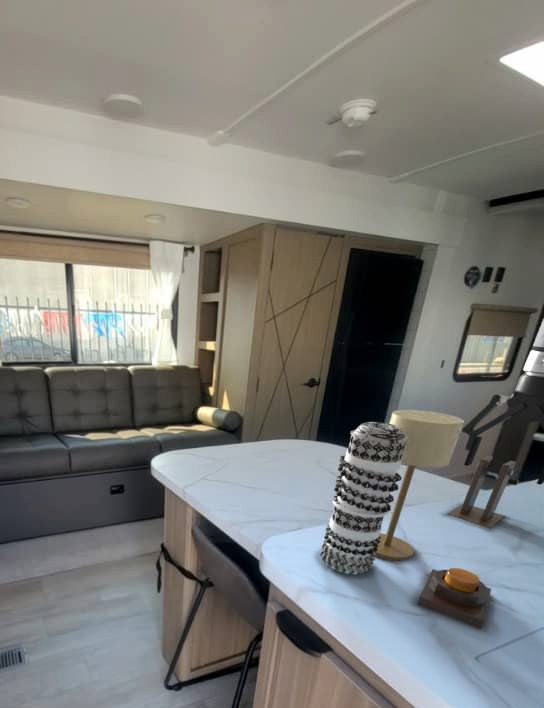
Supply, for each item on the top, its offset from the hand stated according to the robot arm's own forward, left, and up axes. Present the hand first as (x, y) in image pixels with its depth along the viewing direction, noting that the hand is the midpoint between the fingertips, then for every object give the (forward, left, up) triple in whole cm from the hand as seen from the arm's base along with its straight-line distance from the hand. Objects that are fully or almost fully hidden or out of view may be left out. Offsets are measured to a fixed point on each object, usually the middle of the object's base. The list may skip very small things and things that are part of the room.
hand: (502, 473), depth 91 cm
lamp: (+27, +29, -9) cm, 41 cm away
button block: (+20, +43, -9) cm, 49 cm away
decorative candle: (+35, +37, -9) cm, 52 cm away
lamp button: (+20, +43, -5) cm, 48 cm away
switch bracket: (+5, +7, -9) cm, 13 cm away
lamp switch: (+3, +4, 0) cm, 5 cm away
